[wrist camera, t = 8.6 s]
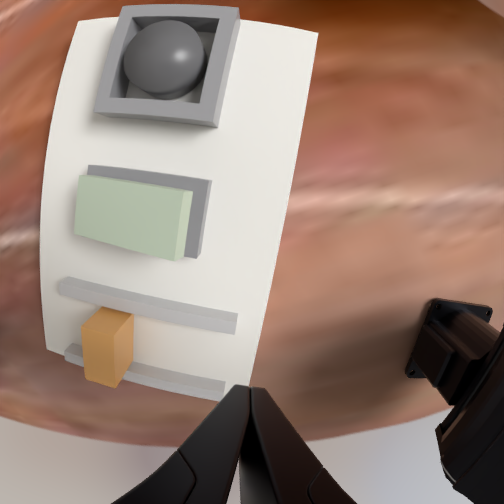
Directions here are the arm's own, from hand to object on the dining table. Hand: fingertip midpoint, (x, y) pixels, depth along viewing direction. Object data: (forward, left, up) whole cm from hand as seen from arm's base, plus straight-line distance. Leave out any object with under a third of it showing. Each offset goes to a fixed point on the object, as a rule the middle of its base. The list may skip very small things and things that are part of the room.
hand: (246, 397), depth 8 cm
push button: (+6, -11, -10) cm, 16 cm away
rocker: (+7, -3, -7) cm, 10 cm away
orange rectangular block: (+8, +5, -10) cm, 13 cm away
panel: (+7, -3, -12) cm, 14 cm away
